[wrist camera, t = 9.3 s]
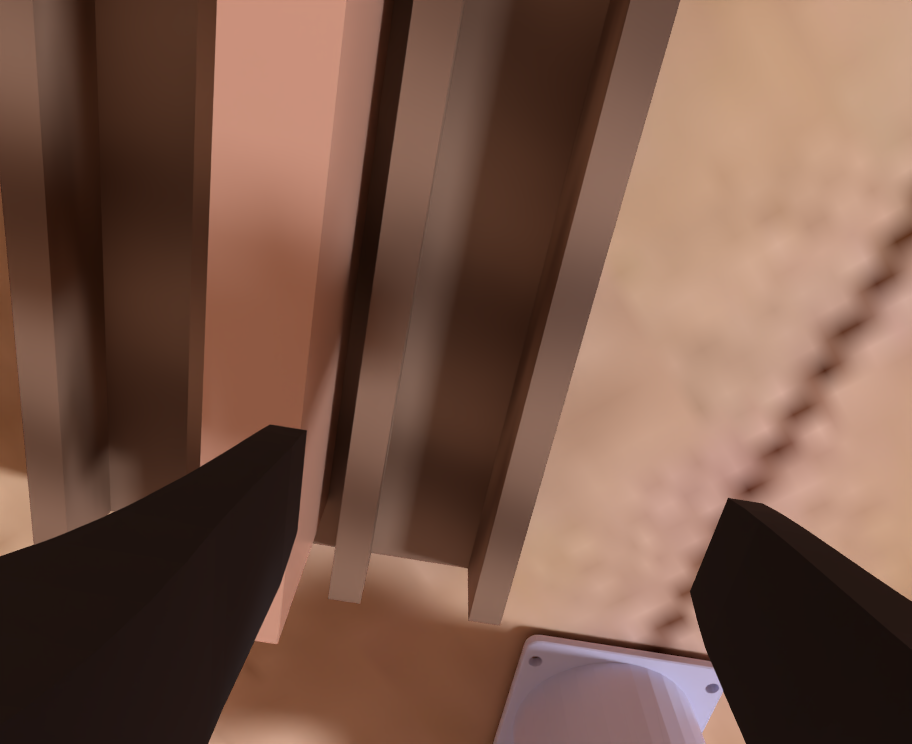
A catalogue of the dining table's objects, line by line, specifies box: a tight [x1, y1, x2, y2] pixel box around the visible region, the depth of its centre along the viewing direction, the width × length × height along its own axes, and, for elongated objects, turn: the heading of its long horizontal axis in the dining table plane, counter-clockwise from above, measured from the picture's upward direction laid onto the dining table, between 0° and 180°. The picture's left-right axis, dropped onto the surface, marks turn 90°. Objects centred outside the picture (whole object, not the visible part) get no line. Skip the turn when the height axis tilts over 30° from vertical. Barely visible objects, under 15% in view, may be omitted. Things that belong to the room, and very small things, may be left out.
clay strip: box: [200, 0, 394, 644], centre depth 15 cm, size 16×2×6 cm, turn 169°
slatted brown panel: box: [0, 0, 680, 625], centre depth 17 cm, size 20×14×3 cm
